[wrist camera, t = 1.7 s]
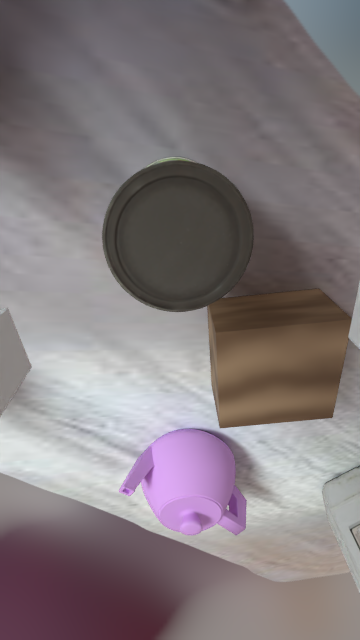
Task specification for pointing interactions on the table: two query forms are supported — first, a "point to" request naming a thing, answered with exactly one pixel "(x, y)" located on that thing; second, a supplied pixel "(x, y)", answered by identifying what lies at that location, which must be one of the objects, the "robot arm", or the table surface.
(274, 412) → the walnut block
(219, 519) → the teapot
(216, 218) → the coffee can
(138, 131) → the table surface
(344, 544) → the jerry can
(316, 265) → the table surface
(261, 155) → the table surface
